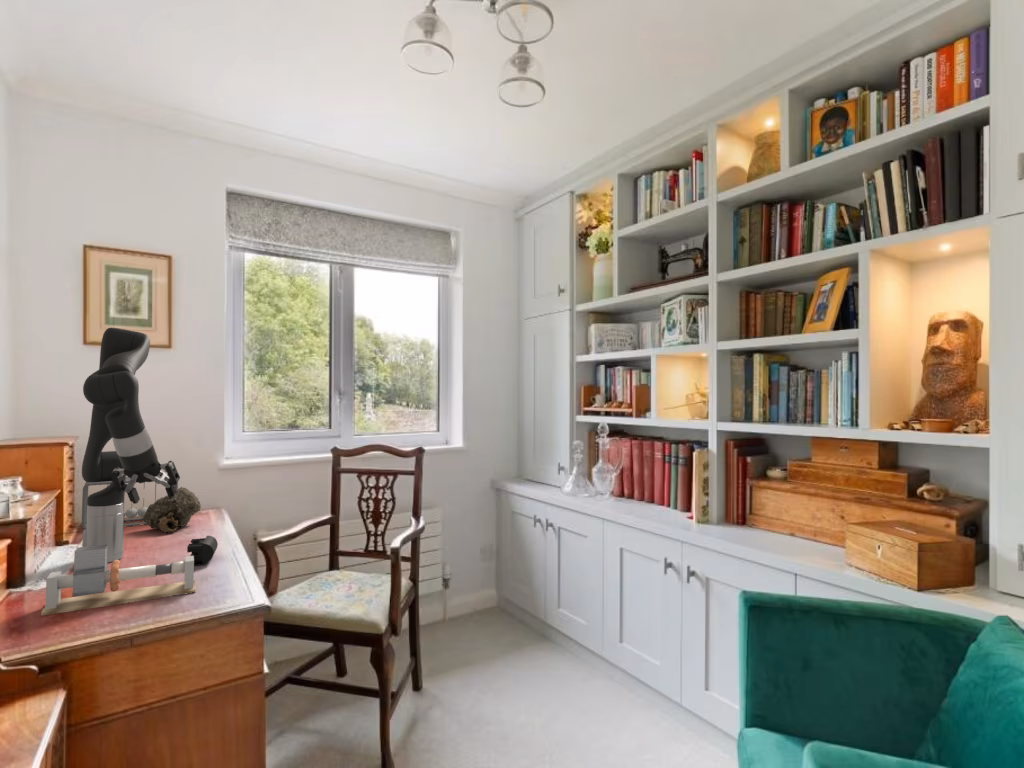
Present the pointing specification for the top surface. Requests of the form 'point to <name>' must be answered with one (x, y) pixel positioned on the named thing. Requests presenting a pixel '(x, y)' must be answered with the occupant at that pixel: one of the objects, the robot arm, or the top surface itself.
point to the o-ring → (114, 575)
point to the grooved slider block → (89, 570)
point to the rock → (172, 511)
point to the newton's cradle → (129, 513)
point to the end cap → (202, 549)
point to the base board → (118, 597)
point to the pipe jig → (120, 577)
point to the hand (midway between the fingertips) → (154, 499)
